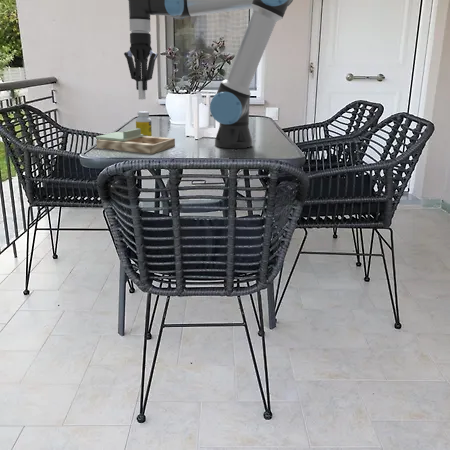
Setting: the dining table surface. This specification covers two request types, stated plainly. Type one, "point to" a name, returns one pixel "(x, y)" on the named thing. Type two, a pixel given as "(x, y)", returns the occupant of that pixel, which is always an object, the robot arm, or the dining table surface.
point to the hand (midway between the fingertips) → (142, 99)
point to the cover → (122, 135)
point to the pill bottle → (144, 123)
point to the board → (138, 144)
